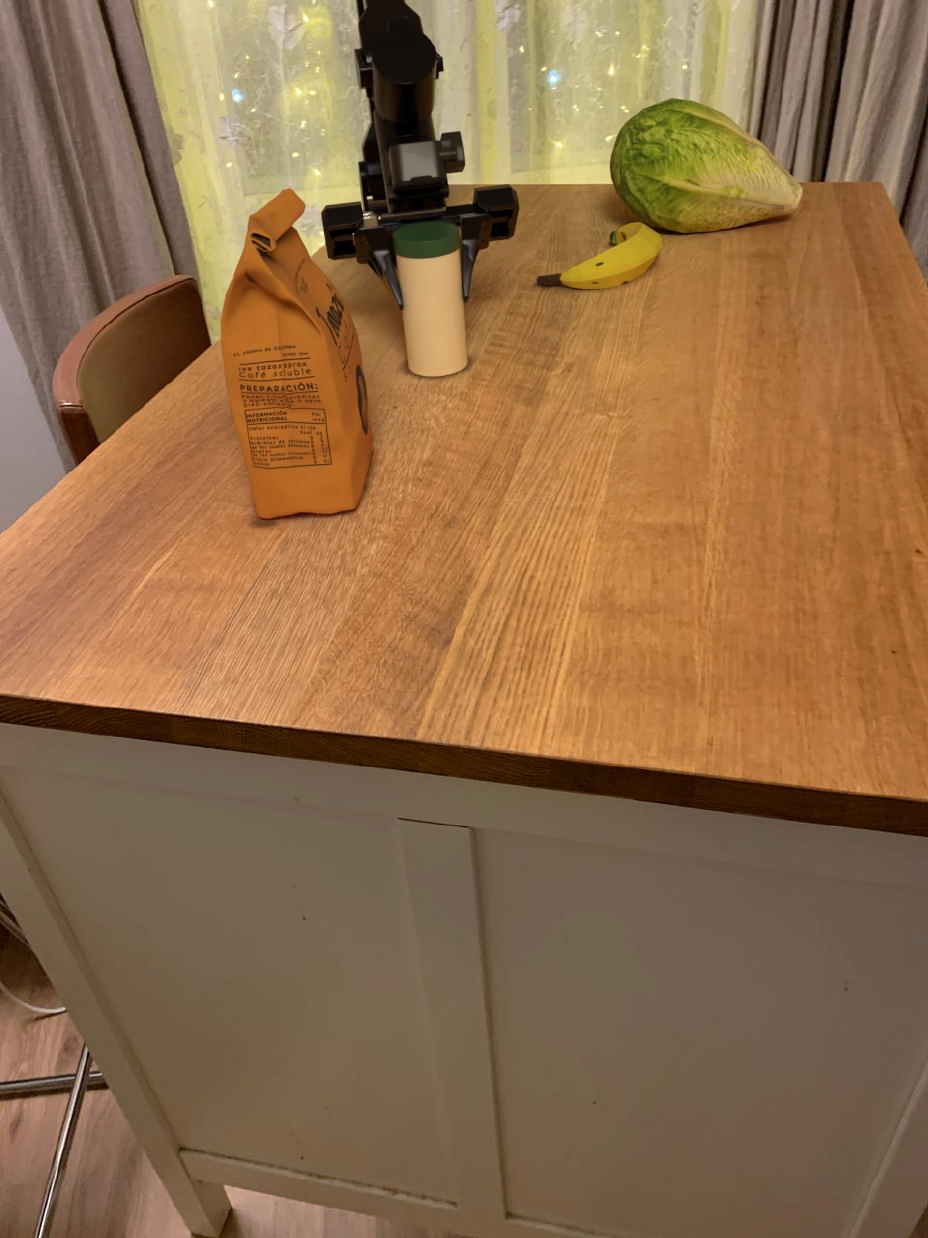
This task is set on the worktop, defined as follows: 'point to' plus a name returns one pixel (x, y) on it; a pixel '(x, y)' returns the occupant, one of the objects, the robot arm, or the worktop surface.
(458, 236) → the cheese shaker
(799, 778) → the worktop surface
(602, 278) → the banana
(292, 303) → the coffee package
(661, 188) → the lettuce
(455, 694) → the worktop surface
